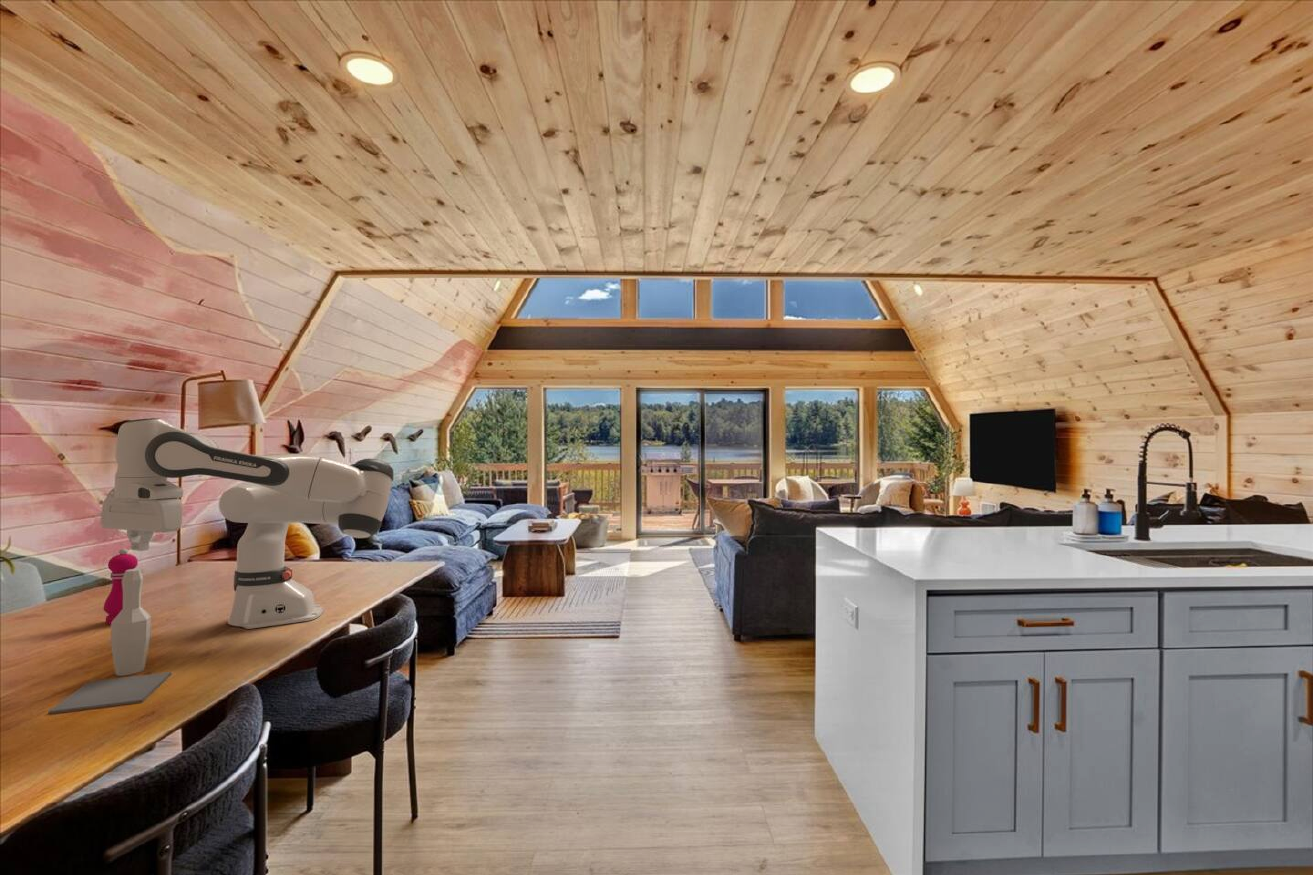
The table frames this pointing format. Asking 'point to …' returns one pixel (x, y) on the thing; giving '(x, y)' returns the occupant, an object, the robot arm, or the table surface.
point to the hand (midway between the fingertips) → (139, 550)
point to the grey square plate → (111, 692)
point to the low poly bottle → (130, 628)
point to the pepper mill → (118, 582)
